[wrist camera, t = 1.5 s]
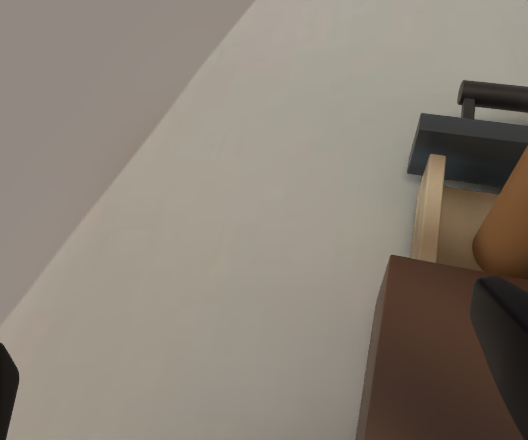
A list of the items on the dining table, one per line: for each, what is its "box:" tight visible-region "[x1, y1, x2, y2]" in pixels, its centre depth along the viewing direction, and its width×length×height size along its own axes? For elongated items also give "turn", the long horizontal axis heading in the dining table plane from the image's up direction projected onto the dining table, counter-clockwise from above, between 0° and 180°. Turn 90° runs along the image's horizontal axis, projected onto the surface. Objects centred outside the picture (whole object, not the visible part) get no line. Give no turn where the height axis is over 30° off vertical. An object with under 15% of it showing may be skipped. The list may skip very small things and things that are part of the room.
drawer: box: [407, 80, 528, 272], centre depth 24 cm, size 17×10×4 cm, turn 166°
